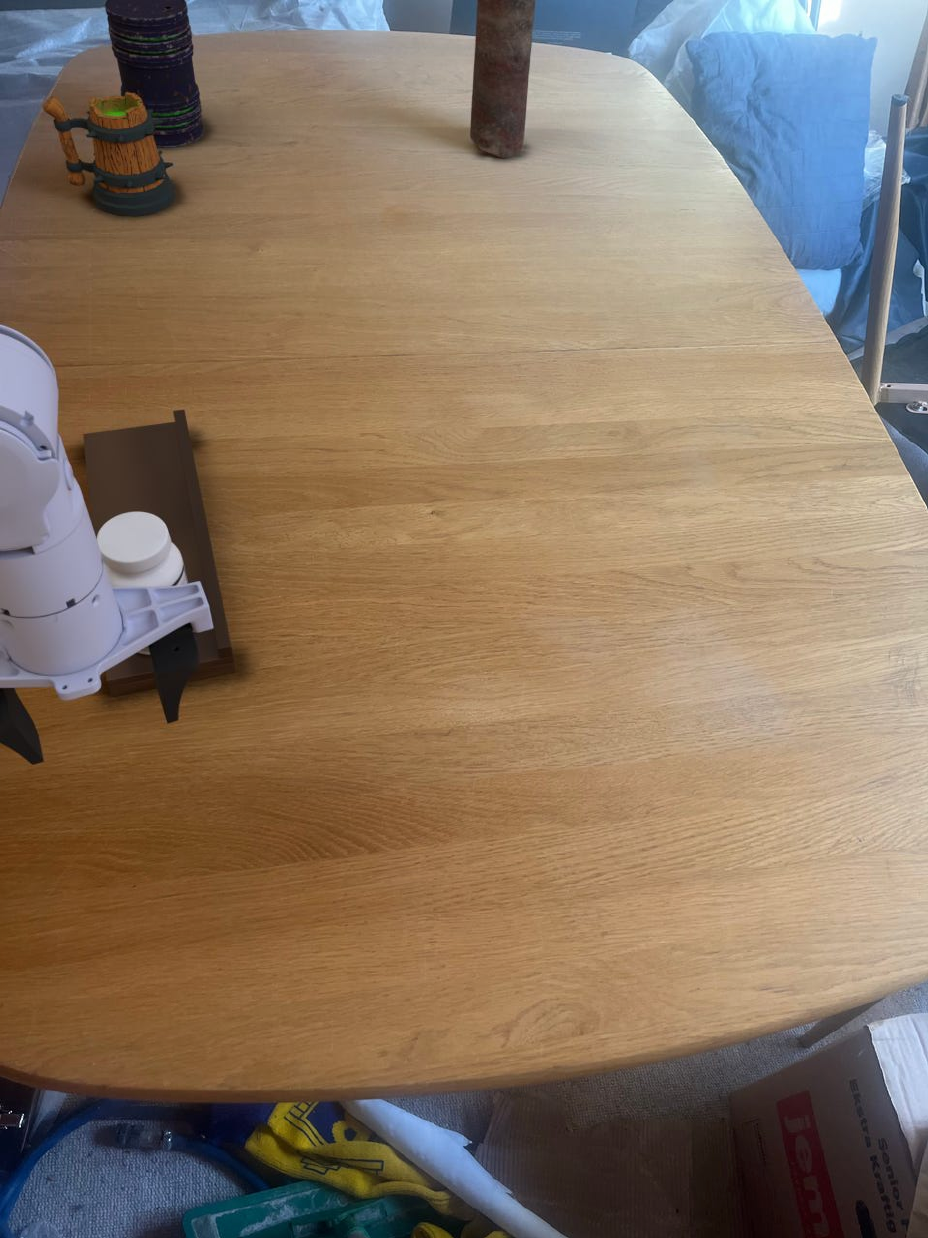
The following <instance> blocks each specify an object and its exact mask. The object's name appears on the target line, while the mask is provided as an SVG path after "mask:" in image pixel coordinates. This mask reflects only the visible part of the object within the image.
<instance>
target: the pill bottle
mask: <svg viewBox="0 0 928 1238" xmlns="http://www.w3.org/2000/svg"><path fill="white" fill-rule="evenodd" d="M97 542H98V545H99V548H100V551H101V555H102V558H103V562H104V565H105V568H106V571H107V574H108V577H109V580H110V583H111V586H112V587H140V586H176V585H184V584H188V581H187V577H186V572H185V568H184V564H183V560H182V556H181V553H180V551H179V550H178V548H177V547H176V546H175V545H174V544H173V543H172V542H171V538H170V535H169V532H168V529H167V526H166V524H165V523H164V522H163V521H162V520H161V519H160V518H159V517H157V516H155V515H153V514H150V513H146V512H128V513H123V514H120V515H118V516H116V517H114V518H112V519H110V520H109V521H107V522H106V523H105V524H104V525H103V526H102V528H101V529H100V530H99V532H98V535H97ZM193 632H194V631H193ZM138 653H141V654H147V655H150V652H149V648H148V646H147V647H145V648H144V649H142V650H140V651H138Z"/></svg>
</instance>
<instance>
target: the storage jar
mask: <svg viewBox="0 0 928 1238" xmlns="http://www.w3.org/2000/svg"><path fill="white" fill-rule="evenodd" d="M104 8H105V9H104V10H105V14H106V15H107V17H106V20H107V24H108V28H107V29H108V35H109V39H110V41H111V50H112V52H113V56H114V57H115V59H116V62H117V67H118V72H119V77H120V82H121V85H120V96H125V93H126V92H131V93H135V94H137V95H138V96H139V97H140V98H141V99H142V102H143V104H144V106H145V109H146V110H150V109H152V110H153V112H152V113H151V114H150V115H151V117H152V118H153V119H154V120H163V123H162V124H160V125H157V126H155V129H154V131H153V132H154V133H155V134H154V135H153V136H154V140H155V143H156V147H157V148H176V147H183V146H187V145H189V144H192V143H194V142H197V141H198V140H199V139H200V138H202V137H203V135H204V131H205V130H204V124H203V122H202V120H203V115H202V112H203V107H202V100H201V97H200V96H201V92H200V88H199V85H198V84H197V83H196V77H195V76H196V75H195V69H194V68H195V67H194V62H193V56H194V49H195V47H194V44H193V33H192V27H191V24H190V18H189V15H188V13H189V12H188V11H189V9H188V3H187V1H186V0H105V1H104Z"/></svg>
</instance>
